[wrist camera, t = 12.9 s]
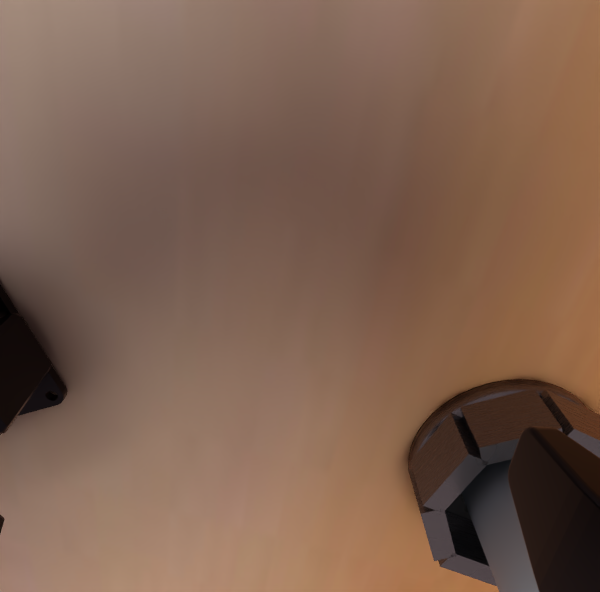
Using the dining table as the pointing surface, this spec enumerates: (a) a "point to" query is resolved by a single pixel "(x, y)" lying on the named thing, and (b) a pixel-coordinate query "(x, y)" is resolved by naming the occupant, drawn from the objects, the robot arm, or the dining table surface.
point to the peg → (499, 528)
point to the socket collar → (482, 457)
